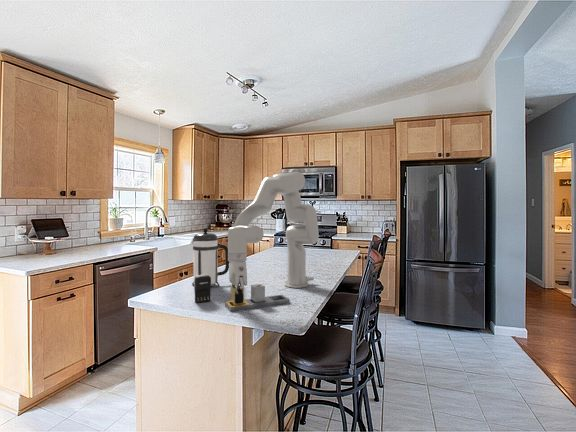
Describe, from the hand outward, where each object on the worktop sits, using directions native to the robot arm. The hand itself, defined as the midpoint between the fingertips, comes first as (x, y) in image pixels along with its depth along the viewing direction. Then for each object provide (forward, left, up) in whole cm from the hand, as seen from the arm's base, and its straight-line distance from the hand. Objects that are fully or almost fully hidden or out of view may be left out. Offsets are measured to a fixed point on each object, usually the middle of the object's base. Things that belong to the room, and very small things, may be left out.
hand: (237, 300), depth 131 cm
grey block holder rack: (-9, 0, -3) cm, 9 cm away
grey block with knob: (-9, 0, -3) cm, 9 cm away
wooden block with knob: (0, 0, -2) cm, 2 cm away
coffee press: (+3, -41, -3) cm, 41 cm away
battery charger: (+11, -14, -3) cm, 18 cm away
